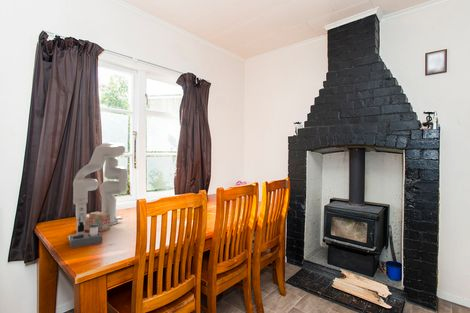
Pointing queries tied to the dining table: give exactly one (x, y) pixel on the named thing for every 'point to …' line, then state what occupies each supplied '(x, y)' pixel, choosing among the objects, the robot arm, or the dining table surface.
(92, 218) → the stack of blocks
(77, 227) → the plug
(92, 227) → the grey capped white peg
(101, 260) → the dining table surface
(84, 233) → the tray
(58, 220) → the dining table surface
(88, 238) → the socket strip
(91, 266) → the dining table surface
